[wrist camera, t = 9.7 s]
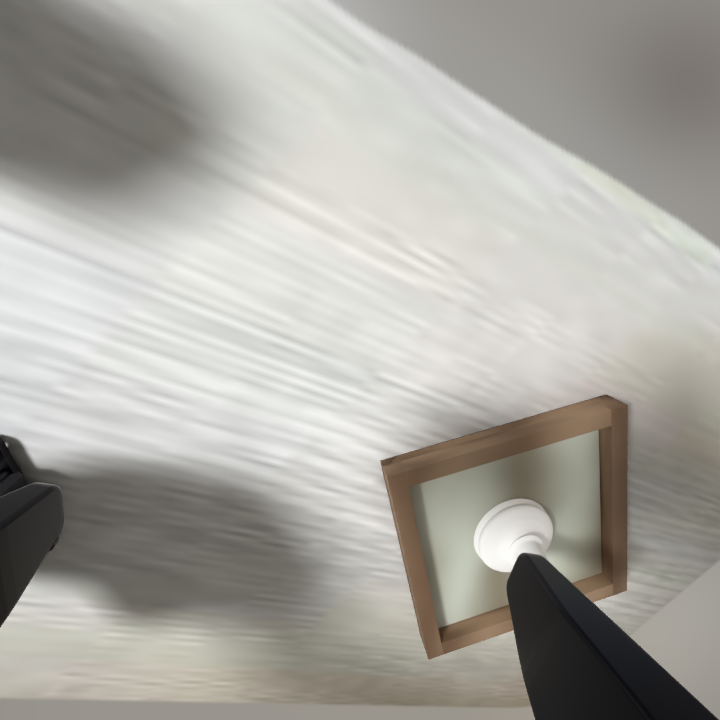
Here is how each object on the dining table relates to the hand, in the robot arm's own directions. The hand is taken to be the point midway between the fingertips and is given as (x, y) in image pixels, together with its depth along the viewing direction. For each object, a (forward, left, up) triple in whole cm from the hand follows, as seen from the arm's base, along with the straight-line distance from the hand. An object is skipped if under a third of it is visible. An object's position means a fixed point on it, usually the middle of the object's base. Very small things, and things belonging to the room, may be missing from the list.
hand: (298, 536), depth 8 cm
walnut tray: (+10, -14, -13) cm, 22 cm away
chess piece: (+10, -15, -13) cm, 22 cm away
